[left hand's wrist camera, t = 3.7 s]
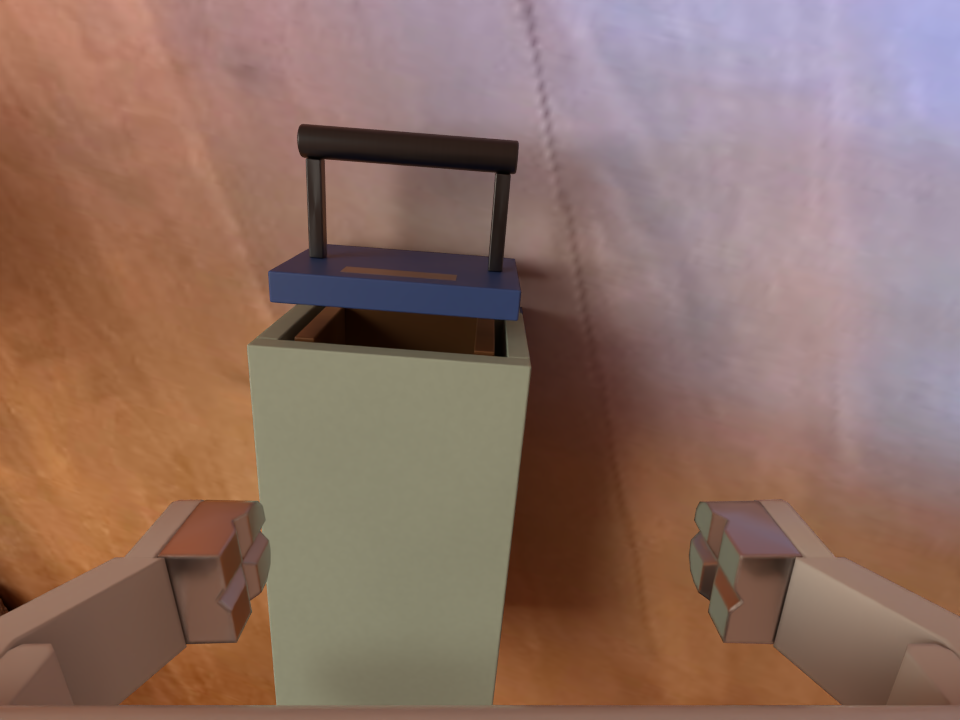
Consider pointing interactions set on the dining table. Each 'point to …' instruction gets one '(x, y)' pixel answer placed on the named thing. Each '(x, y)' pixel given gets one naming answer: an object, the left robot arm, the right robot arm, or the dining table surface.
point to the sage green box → (386, 513)
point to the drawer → (401, 255)
